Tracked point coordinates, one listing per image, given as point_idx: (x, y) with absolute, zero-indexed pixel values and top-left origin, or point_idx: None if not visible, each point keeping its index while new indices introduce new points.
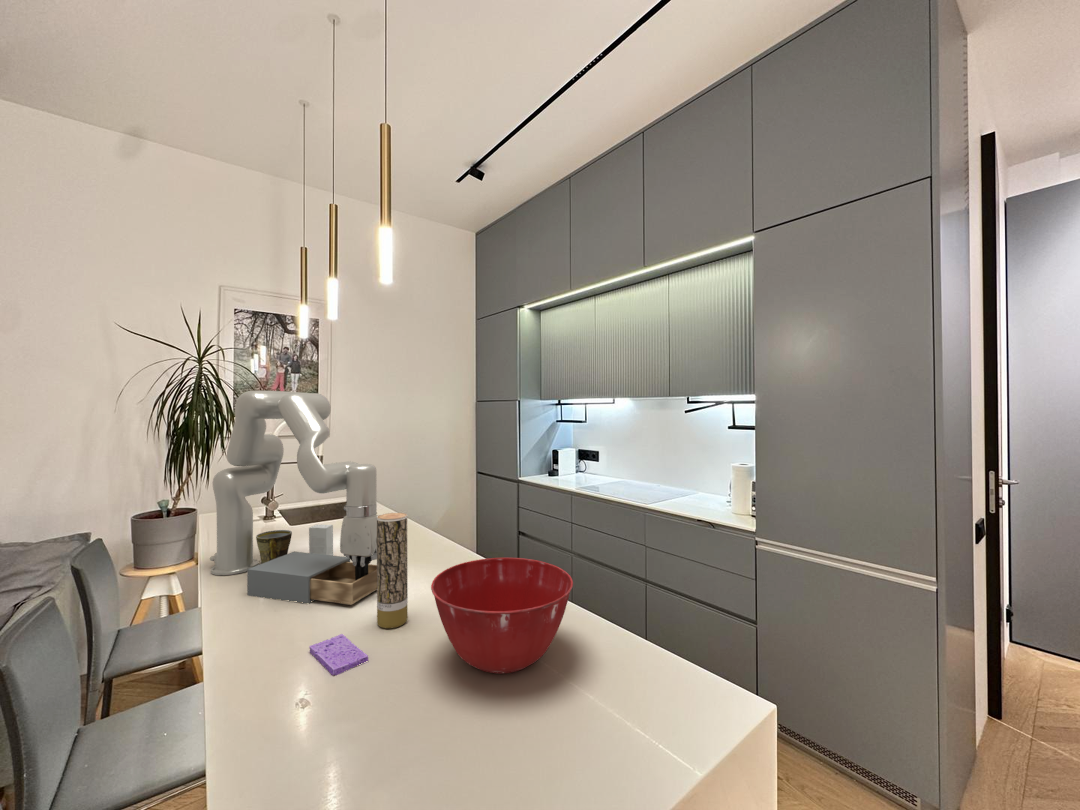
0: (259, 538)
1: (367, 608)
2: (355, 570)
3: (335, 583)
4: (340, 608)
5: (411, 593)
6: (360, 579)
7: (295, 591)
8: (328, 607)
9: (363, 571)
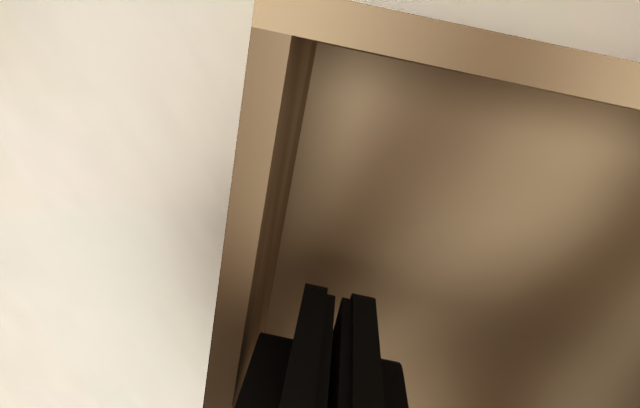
0: None
1: (167, 32)
2: (379, 392)
3: (579, 53)
4: (405, 8)
5: (11, 314)
6: (229, 209)
7: None
8: (529, 20)
9: (259, 387)
